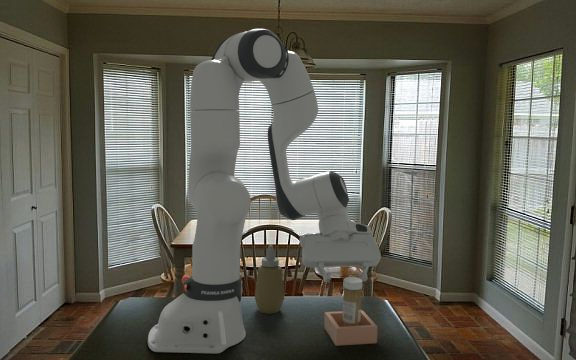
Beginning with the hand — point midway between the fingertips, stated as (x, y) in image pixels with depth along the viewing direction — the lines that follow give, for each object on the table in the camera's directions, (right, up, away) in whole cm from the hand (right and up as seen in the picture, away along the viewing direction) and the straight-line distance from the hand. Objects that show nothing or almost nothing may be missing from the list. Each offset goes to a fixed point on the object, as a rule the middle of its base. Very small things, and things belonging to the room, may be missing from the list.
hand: (345, 280), depth 115 cm
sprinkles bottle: (+1, -12, -2) cm, 13 cm away
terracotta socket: (+1, -13, -2) cm, 13 cm away
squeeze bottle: (-19, -11, +12) cm, 25 cm away
